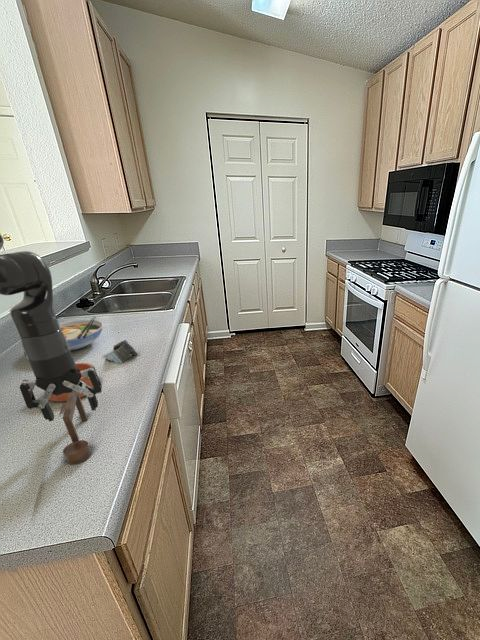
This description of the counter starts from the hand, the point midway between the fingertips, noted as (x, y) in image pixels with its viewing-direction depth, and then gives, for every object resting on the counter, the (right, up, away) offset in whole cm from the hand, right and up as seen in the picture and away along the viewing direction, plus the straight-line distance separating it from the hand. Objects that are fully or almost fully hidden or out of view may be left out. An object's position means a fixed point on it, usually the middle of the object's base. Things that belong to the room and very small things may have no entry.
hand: (73, 413), depth 77 cm
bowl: (-16, +3, +23) cm, 28 cm away
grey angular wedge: (-13, +13, +43) cm, 46 cm away
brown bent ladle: (0, -7, +3) cm, 7 cm away
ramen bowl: (-35, +17, +53) cm, 66 cm away
